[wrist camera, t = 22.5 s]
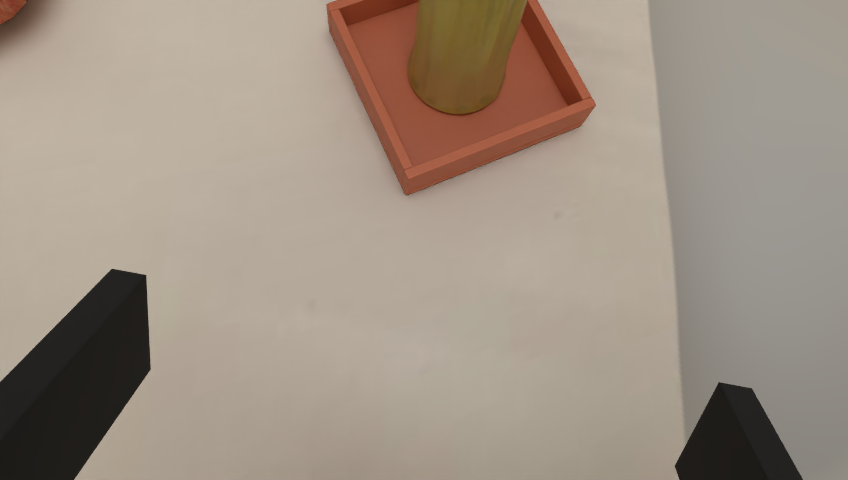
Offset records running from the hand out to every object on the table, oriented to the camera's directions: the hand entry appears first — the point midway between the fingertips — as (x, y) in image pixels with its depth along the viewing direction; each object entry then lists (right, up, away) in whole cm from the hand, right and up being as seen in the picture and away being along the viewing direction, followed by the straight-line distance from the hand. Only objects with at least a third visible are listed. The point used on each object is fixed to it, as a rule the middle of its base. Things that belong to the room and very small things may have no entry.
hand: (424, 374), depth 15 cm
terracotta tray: (+2, +13, +26) cm, 29 cm away
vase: (+2, +14, +25) cm, 29 cm away
